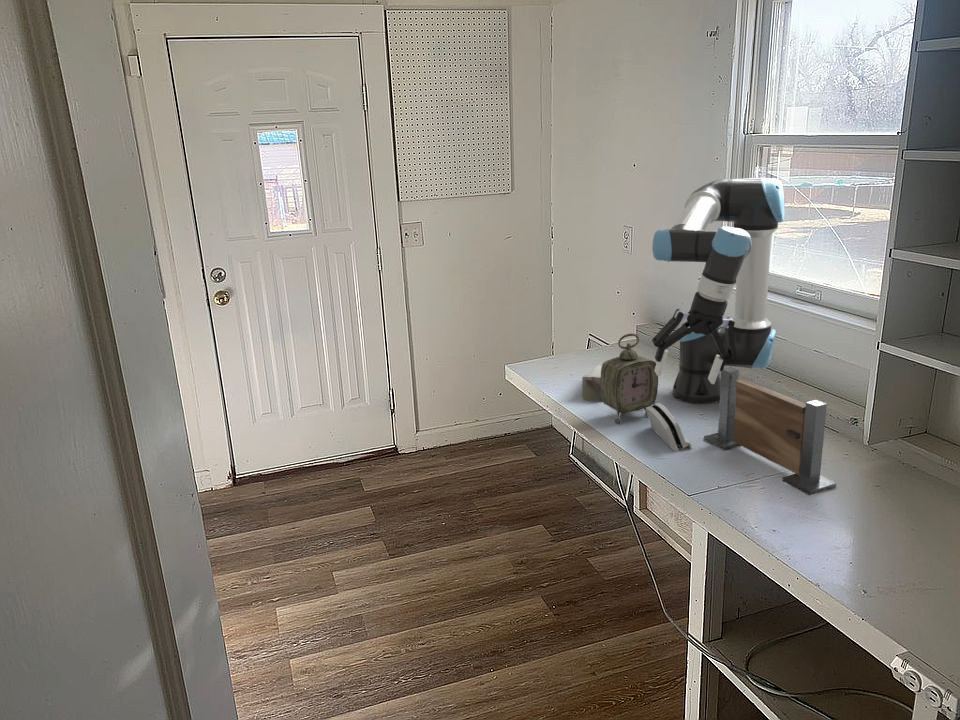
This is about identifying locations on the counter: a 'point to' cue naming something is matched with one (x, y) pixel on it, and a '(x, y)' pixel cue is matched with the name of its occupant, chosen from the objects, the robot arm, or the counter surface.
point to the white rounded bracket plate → (666, 426)
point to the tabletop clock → (628, 381)
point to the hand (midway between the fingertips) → (684, 377)
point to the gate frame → (811, 444)
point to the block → (592, 385)
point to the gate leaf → (769, 424)
